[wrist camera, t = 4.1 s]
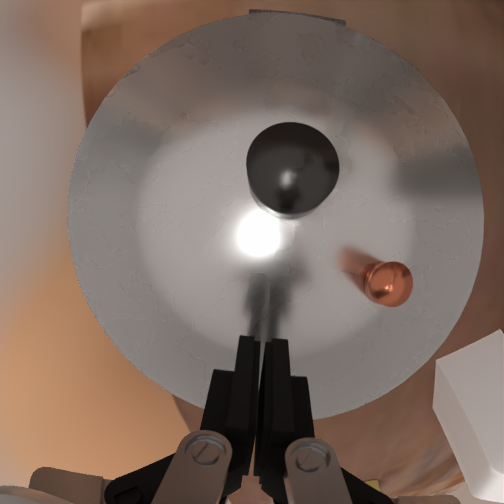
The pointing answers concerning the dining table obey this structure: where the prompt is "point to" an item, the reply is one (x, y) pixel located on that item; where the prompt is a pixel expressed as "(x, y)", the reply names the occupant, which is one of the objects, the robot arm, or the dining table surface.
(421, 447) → the dining table surface
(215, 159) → the lid
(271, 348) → the robot arm
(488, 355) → the milk
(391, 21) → the dining table surface
